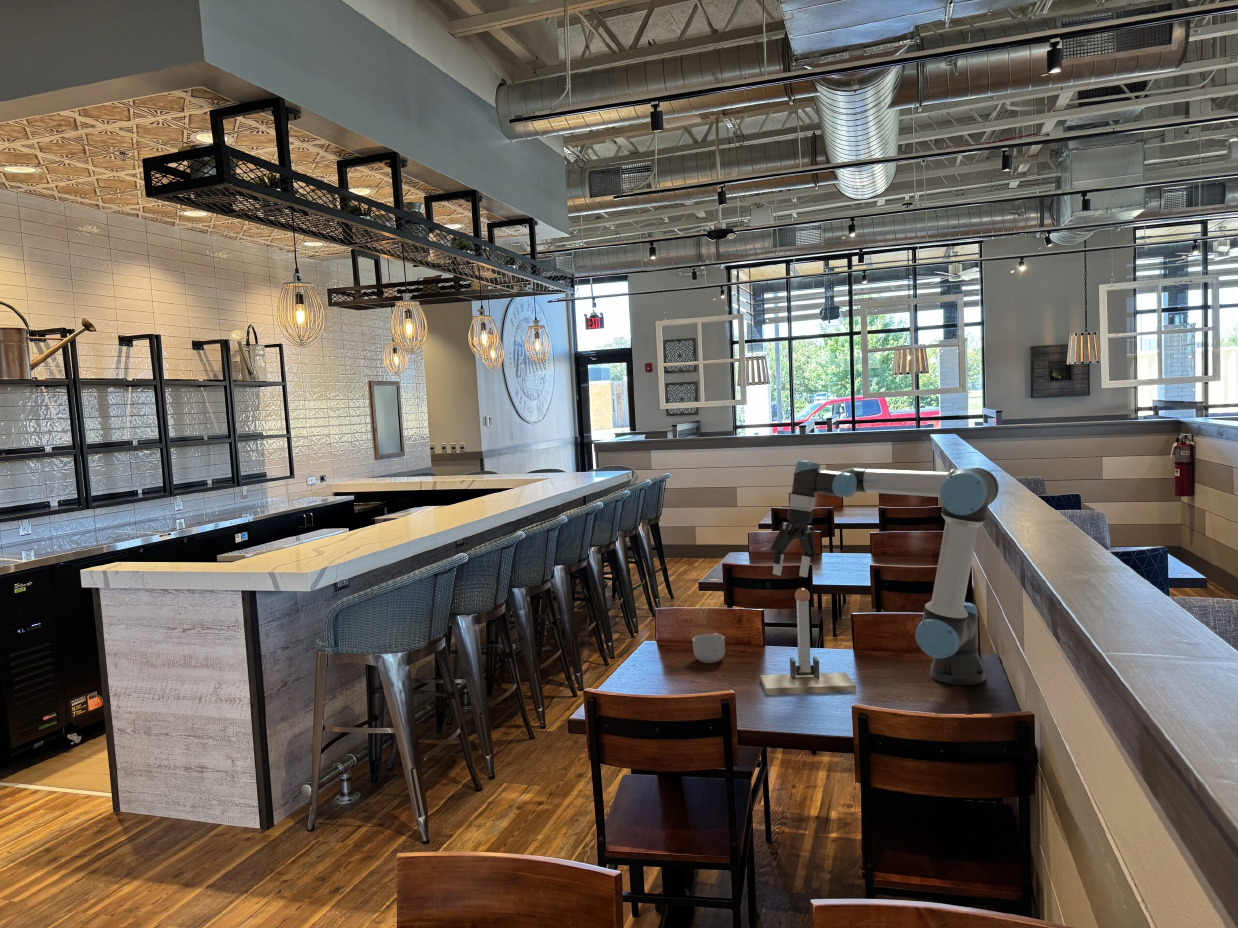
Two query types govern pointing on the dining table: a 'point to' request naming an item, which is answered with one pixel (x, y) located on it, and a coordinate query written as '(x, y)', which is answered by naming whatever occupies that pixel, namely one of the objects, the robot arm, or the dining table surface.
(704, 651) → the teacup
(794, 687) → the board
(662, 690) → the dining table surface
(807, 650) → the press lever
